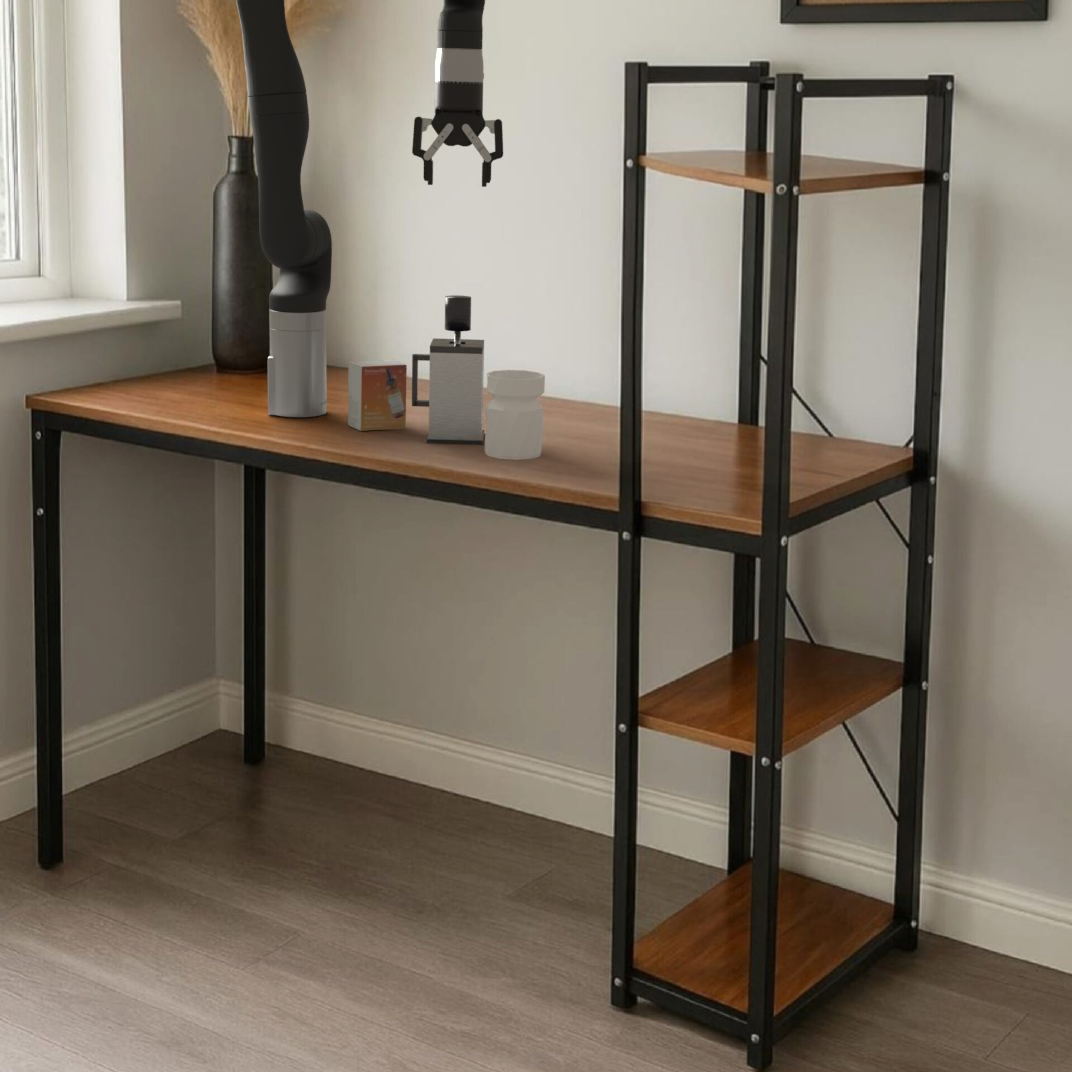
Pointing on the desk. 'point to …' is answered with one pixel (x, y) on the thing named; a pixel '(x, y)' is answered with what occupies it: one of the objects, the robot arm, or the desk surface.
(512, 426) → the white plastic jar
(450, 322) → the plunger
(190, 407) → the desk surface
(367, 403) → the small box
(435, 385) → the press carafe
